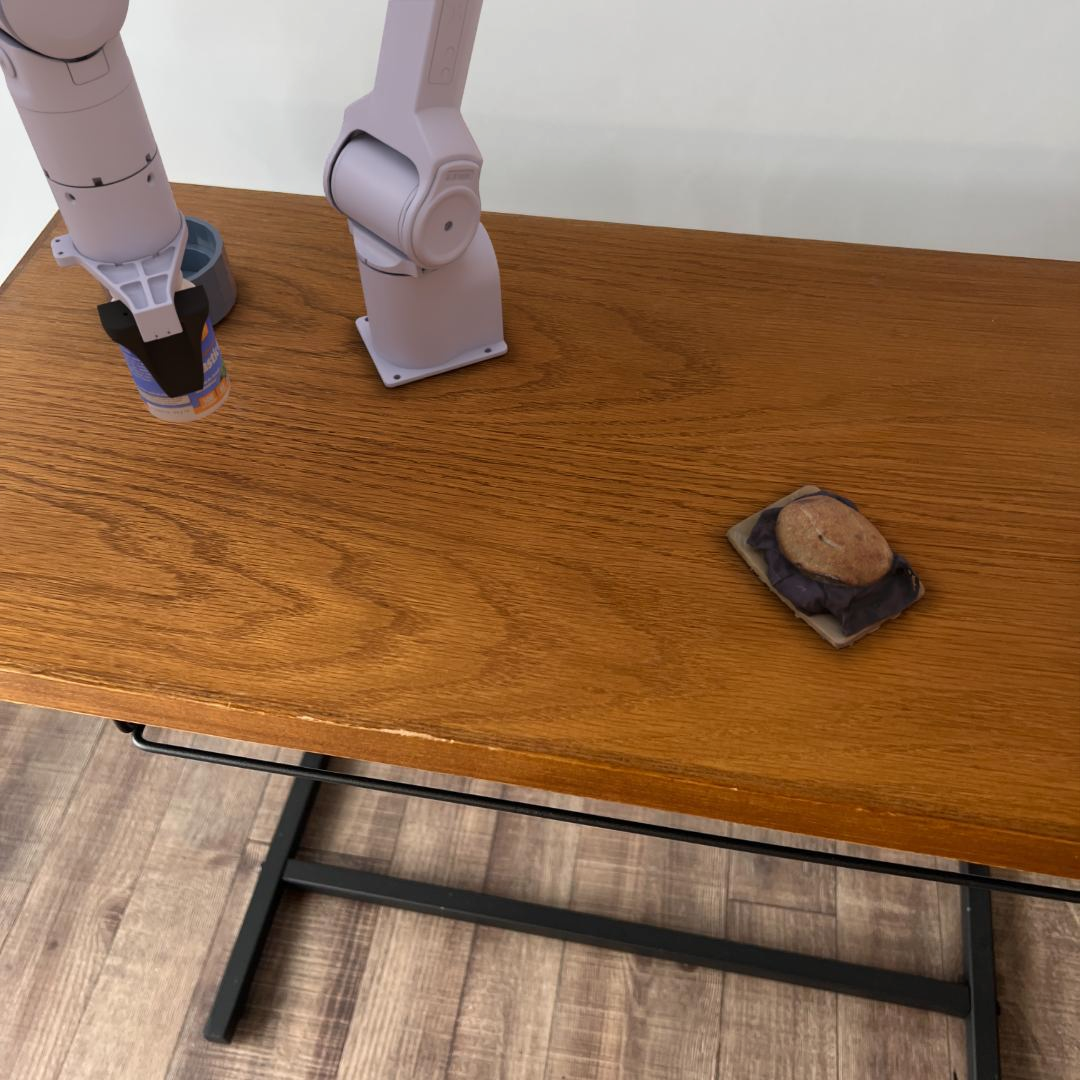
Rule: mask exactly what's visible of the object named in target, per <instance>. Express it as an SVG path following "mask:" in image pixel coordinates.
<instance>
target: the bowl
mask: <svg viewBox="0 0 1080 1080" xmlns="http://www.w3.org/2000/svg"><path fill="white" fill-rule="evenodd" d="M183 215H184V218H185V221H186V224H187V227H188V239H187V243H186V247H185V251H184V256H183V260H182V264H181V268H180V270H181V271H182V275H183V278H184V279H186V280H188V281H190V282H191V283H193V284H194V285H195V286H199V285H203V286H204V289H205V292H206V294H207V297H208V300H209V319H210V322H211V325H212V327H213V326H214V325H216V324H218V323H219V322H220V321H221V320H222V319H223V318H225V317H226V316H227V315H228V314H229V313H230V311H231V310H232V308H233V306H234V305H235V303H236V301H237V294H238V287H237V284H236V281H235V277H234V273H233V270H232V267H231V263H230V260H229V257H228V253H227V249H226V246H225V242H224V240H223V238H222V235H221V232H220V230H219V229H217V227H216V226H214V225H213V224H212V223H211V222H209V221H207V220H204V219H201V218H199V217H198V216H197V217H196V216H193V215H186V214H183ZM99 285H100V287H101V289H102V293H103V294H104V297H105V298H106V303H109V302H111V300H112V298H113V297H112V296H111V294H110V292H109V290H108V289H107V288H106V287H105V286H104V285H103V284H102V283H101V282H99Z"/></svg>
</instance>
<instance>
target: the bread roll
mask: <svg viewBox="0 0 1080 1080" xmlns="http://www.w3.org/2000/svg"><path fill="white" fill-rule="evenodd" d="M725 537H727V539H728V541H729V543H730V544H731V546H732V547H733V549H734V550H735V551H737V553H738V555H739V556H740V557H741V558H742V560H743V561H745V563H746V565H748V566H749V567H750V571H753V572H754V573H755V574H756V575H758V579H759V580H760V581H761V582H762V583H765V585H766V587H768V588H769V591H770V592H773V594H775V596H777V597H778V598H779V600H781V602H782V603H784V604H786V605H787V607H789V609H790V610H792V611H794V616H795V618H798V619H801V620H804V622H805V623H806V624H807V626H809V627H810V628H812V629H813V630H814V631H815V632H816V633H817V634H818V635H819V636H820V637H821V638H822V640H823V641H824V640H825V641H827V643H829V644H830V645H832V646H833V647H834V648H836V649H837V650H839V649H843V648H846V647H848V646H853V644H854V643H855V642H857V641H859V640H862V638H863V637H865V636H866V635H867V634H871V633H874V632H875V631H877V630H879V629H881V625H882V624H884V623H885V622H887V621H888V620H895V619H896V618H898V617H899V616H900V615H901V614H902V611H905V610H906V609H907V608H909V607H910V606H912V605H913V604H914V603H916V602H919V601H920V600H921V599H922V598H924V597H925V594H926V593H925V592H926V590H925V586H924V585H923V584H922V582H921V580H920V578H919V576H918V575H917V574H916V573H915V571H914V569H913V567H912V566H911V564H910V562H909V561H908V560H907V558H905V556H903V555H901V554H899V553H898V552H896V551H894V550H892V549H891V548H890V546H889V544H888V542H887V540H886V538H885V537H884V536H883V535H882V534H881V533H880V531H879V530H878V529H877V528H876V527H875V526H874V524H872V522H870V521H869V519H868V518H866V516H864V515H863V514H862V513H861V512H860V510H859V509H858V507H857V505H856V504H855V502H853V501H852V500H851V499H849V498H847V497H844V496H841V495H839V494H836V493H831V492H830V491H828V490H826V489H820V488H819V487H818V486H814V485H812V484H807V485H804V486H802V487H800V488H798V489H796V490H795V491H793V492H792V493H790V494H788V495H786V496H784V497H781V498H780V499H778V500H777V501H775V502H774V503H771V504H770V505H768V506H766V507H764V508H762V509H761V510H759V511H758V512H756V513H753V514H752V515H751V516H749V517H747V518H745V519H744V520H741V521H739V522H738V523H736V524H735V525H733V526H731V527H730V528H729V529H728V531H727V532H726V534H725Z"/></svg>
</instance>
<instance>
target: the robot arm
mask: <svg viewBox="0 0 1080 1080" xmlns="http://www.w3.org/2000/svg"><path fill="white" fill-rule="evenodd" d="M387 2H388V3H387V7H386V13H385V18H384V19H385V20H384V25H383V31H382V37H381V42H380V50H379V55H378V60H377V68H376V72H375V73H376V74H375V78H374V79H375V80H374V85H373V89H372V90H371V91H370V92H368V93H367V94H365V95H363V96H362V97H360V98H358V99H357V100H356V99H355V100H354V101H353V102H352V103H350V104H349V105H347V106H346V107H345V108H344V111H343V119H342V124H341V129H340V132H339V135H338V137H337V139H336V142H335V143H334V144H333V146H332V148H331V150H330V151H329V153H328V155H327V158H326V161H325V164H324V167H323V173H322V188H323V192H324V196H325V198H326V201H327V202H328V204H329V205H330V206H331V207H332V209H333V210H335V211H336V213H338V214H340V215H341V216H345V217H346V219H347V224H348V230H349V234H351V236H353V243H354V248H355V254H356V261H357V265H358V271H359V277H360V283H361V287H362V293H363V297H364V303H365V310H366V314H367V315H364V316H360V317H358V318H357V319H356V320H355V327H356V329H357V332H358V333H359V336H360V338H361V339H362V341H363V343H364V345H365V348H366V350H367V352H368V353H369V355H370V358H371V360H372V362H373V364H374V366H375V368H376V369H377V372H378V374H379V376H380V378H381V380H382V382H383V384H384V386H385V387H387V388H394V387H397V386H398V387H399V386H402V385H405V384H409V383H412V382H415V381H418V380H422V379H425V378H428V377H432V376H435V375H439V374H443V373H446V372H449V371H452V370H456V369H459V368H463V367H465V366H466V367H467V366H469V365H472V364H476V363H480V362H482V361H487V360H489V359H494V358H497V357H499V356H503V355H505V354H507V352H508V344H507V343H506V341H505V339H504V323H503V322H504V321H503V305H502V304H503V303H502V289H501V287H502V286H501V276H500V269H499V263H498V259H497V255H496V252H495V248H494V246H493V243H492V241H491V238H490V235H489V234H488V231H487V230H486V227H485V226H484V224H483V223H482V222H481V215H482V199H481V194H480V180H481V179H480V178H481V173H482V168H483V163H484V158H483V155H482V153H481V151H480V149H479V146H478V145H477V143H476V141H475V139H474V137H473V135H472V133H471V132H470V129H469V127H468V125H467V123H466V121H465V119H464V117H463V115H462V112H461V109H462V108H461V107H462V102H463V98H464V94H465V89H466V84H467V79H468V75H469V71H470V64H471V60H472V55H473V51H474V45H475V41H476V37H477V31H478V26H479V23H480V18H481V14H482V13H481V12H482V8H483V4H484V0H387ZM129 5H130V0H0V68H1V71H2V73H3V76H4V80H5V84H6V87H7V90H8V92H9V94H10V97H11V99H12V101H13V103H14V106H15V108H16V110H17V113H18V115H19V118H20V120H21V123H22V125H23V128H24V130H25V132H26V134H27V137H28V139H29V141H30V144H31V146H32V148H33V150H34V153H35V156H36V158H37V160H38V162H39V165H40V167H41V171H42V172H43V175H44V177H45V179H46V181H47V184H48V186H49V188H50V191H51V193H52V195H53V198H54V200H55V203H56V205H57V208H58V210H59V212H60V214H61V217H62V220H63V222H64V224H65V226H66V229H67V231H68V233H65V234H62V235H58V236H56V237H54V238H53V239H51V240H50V247H51V250H52V255H53V257H54V260H55V262H56V265H58V267H60V268H70V267H74V266H80V267H82V268H83V269H85V270H86V271H87V272H88V273H89V274H90V275H91V276H93V278H95V279H96V281H98V282H99V283H100V282H101V283H102V284H103V285H104V286H105V287H106V288H107V289H108V290H109V291H111V292H112V293H113V294H114V295H115V296H116V297H117V298H118V299H120V300H116V301H112V302H109V303H108V302H106V303H101V304H97V306H96V309H97V313H98V317H99V319H100V323H101V325H102V328H103V331H104V332H105V334H106V335H107V336H108V337H109V338H110V340H112V341H113V342H115V344H118V345H119V344H120V345H122V346H123V347H125V348H126V349H128V350H129V351H130V352H132V353H133V354H134V355H135V356H136V357H137V358H138V359H139V360H140V361H141V362H142V363H143V364H144V366H145V367H146V368H147V370H148V371H149V372H150V374H151V375H152V377H153V378H154V379H155V381H156V382H157V384H158V385H159V386H160V388H161V389H162V390H163V391H164V392H165V393H166V395H167V396H168V397H169V398H175V397H179V396H182V395H186V394H189V393H192V392H196V391H199V390H202V389H203V388H204V369H203V359H202V346H201V345H202V334H203V329H204V325H205V322H206V320H207V318H208V316H209V300H208V297H207V294H206V292H205V289H204V286H203V285H199V286H195V287H191V288H188V289H184V290H180V291H176V292H175V288H176V284H177V280H178V276H179V272H180V268H181V264H182V260H183V256H184V251H185V247H186V243H187V239H188V227H187V224H186V221H185V218H184V215H185V214H183V212H182V211H181V209H180V208H178V206H177V202H176V200H175V197H174V193H173V190H172V187H171V184H170V181H169V178H168V175H167V172H166V169H165V165H164V163H163V159H162V155H161V153H160V149H159V147H158V143H157V142H156V139H155V136H154V133H153V129H152V127H151V123H150V120H149V117H148V114H147V110H146V108H145V105H144V102H143V99H142V95H141V93H140V88H139V85H138V83H137V80H136V76H135V73H134V71H133V67H132V64H131V61H130V58H129V56H128V54H127V51H126V48H125V43H124V41H123V38H122V34H121V30H122V28H123V26H124V24H125V21H126V19H127V15H128V12H129Z"/></svg>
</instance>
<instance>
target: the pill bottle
mask: <svg viewBox="0 0 1080 1080" xmlns="http://www.w3.org/2000/svg"><path fill="white" fill-rule="evenodd" d="M191 287H195V285H194V284H193V283H191V282H190V281H188V280H186V279H184V278H183V275H182V271H181V270H180V272H179V276H178V280H177V284H176V288H175V292H176V291H180V290H184V289H188V288H191ZM109 292H110V294H111V296H112V297H113V298H112V300H111V302H112V301H116V300H120V299H118V298H117V297H116V296H115V295H114V294H113V293H112V292H111V291H109ZM118 346H119V349H120V351H121V353H122V356H123V358H124V360H125V361H124V362H125V363H126V365H127V367H128V370H129V372H130V374H131V377H132V379H133V382H134V384H135V387H136V389H137V391H138V394H139V396H140V398H141V401H142V402H143V405H144V406H145V408H146V410H147V411H148V412H149V413H150V414H151V415H152V416H153V417H155V418H157V419H159V420H162V421H165V422H169V423H177V424H178V423H179V424H180V423H181V424H182V423H190V422H195V421H198V420H201V419H203V418H206V417H208V416H210V415H212V414H213V413H214V412H216V411H217V410H218V409H219V408H220V407H221V406H222V405H223V404H224V403H225V402H226V400H227V399H228V397H229V394H230V391H231V381H230V376H229V372H228V370H227V366H226V364H225V361H224V358H223V355H222V352H221V348H220V346H219V343H218V340H217V337H216V334H215V332H214V328H213V326H212V325H211V322H210V319H209V316H208V318H207V320H206V322H205V325H204V329H203V334H202V345H201V346H202V359H203V369H204V388H203V389H202V390H199V391H196V392H192V393H189V394H186V395H182V396H179V397H175V398H169V397H168V396H167V395H166V393H165V392H164V391H163V390H162V389H161V388H160V386H159V385H158V384H157V382H156V381H155V379H154V378H153V377H152V375H151V374H150V372H149V371H148V370H147V368H146V367H145V366H144V364H143V363H142V362H141V361H140V360H139V359H138V358H137V357H136V356H135V355H134V354H133V353H132V352H130V351H129V350H128V349H126V348H125V347H123V346H122V345H120V344H118Z"/></svg>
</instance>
